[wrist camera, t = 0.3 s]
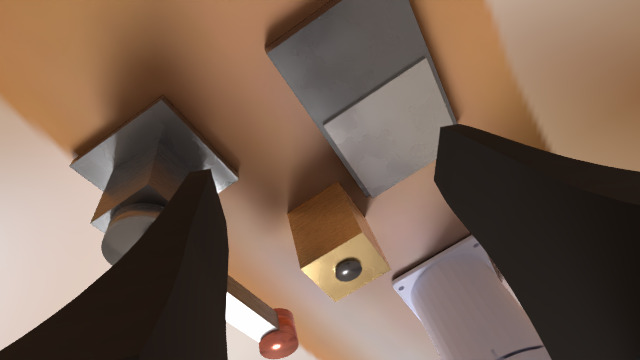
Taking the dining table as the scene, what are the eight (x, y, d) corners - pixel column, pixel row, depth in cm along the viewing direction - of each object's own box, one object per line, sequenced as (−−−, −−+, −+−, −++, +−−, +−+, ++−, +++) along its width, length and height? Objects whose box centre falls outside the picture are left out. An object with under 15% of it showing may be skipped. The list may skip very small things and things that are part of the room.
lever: (305, 316, 23) (311, 342, 21) (265, 339, 23) (268, 366, 22) (147, 186, 16) (140, 213, 14) (93, 223, 16) (81, 253, 15)
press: (455, 132, 24) (503, 174, 20) (225, 275, 26) (226, 338, 22) (376, -60, 17) (427, -56, 13) (73, 160, 19) (35, 221, 15)
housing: (364, 217, 26) (392, 271, 22) (317, 245, 27) (336, 304, 23) (338, 181, 24) (363, 234, 20) (287, 213, 25) (301, 271, 20)
